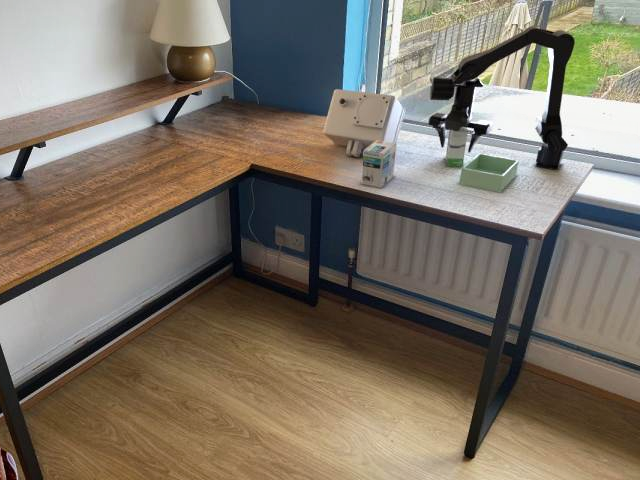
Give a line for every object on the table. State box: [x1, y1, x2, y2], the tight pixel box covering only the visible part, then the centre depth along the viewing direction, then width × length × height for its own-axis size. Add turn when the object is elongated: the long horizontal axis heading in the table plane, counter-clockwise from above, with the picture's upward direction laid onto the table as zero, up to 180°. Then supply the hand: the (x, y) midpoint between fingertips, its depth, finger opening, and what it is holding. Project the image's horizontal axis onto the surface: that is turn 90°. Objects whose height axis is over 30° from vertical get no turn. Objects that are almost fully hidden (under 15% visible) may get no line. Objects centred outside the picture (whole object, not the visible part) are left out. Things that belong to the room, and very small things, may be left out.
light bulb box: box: [361, 140, 397, 189], centre depth 181 cm, size 11×7×11 cm, turn 148°
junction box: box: [322, 88, 406, 158], centre depth 202 cm, size 24×15×22 cm
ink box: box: [445, 127, 469, 168], centre depth 192 cm, size 9×5×12 cm, turn 169°
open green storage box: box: [458, 152, 520, 193], centre depth 180 cm, size 12×15×5 cm
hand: (455, 149), depth 193 cm, fingers open, 8 cm apart
